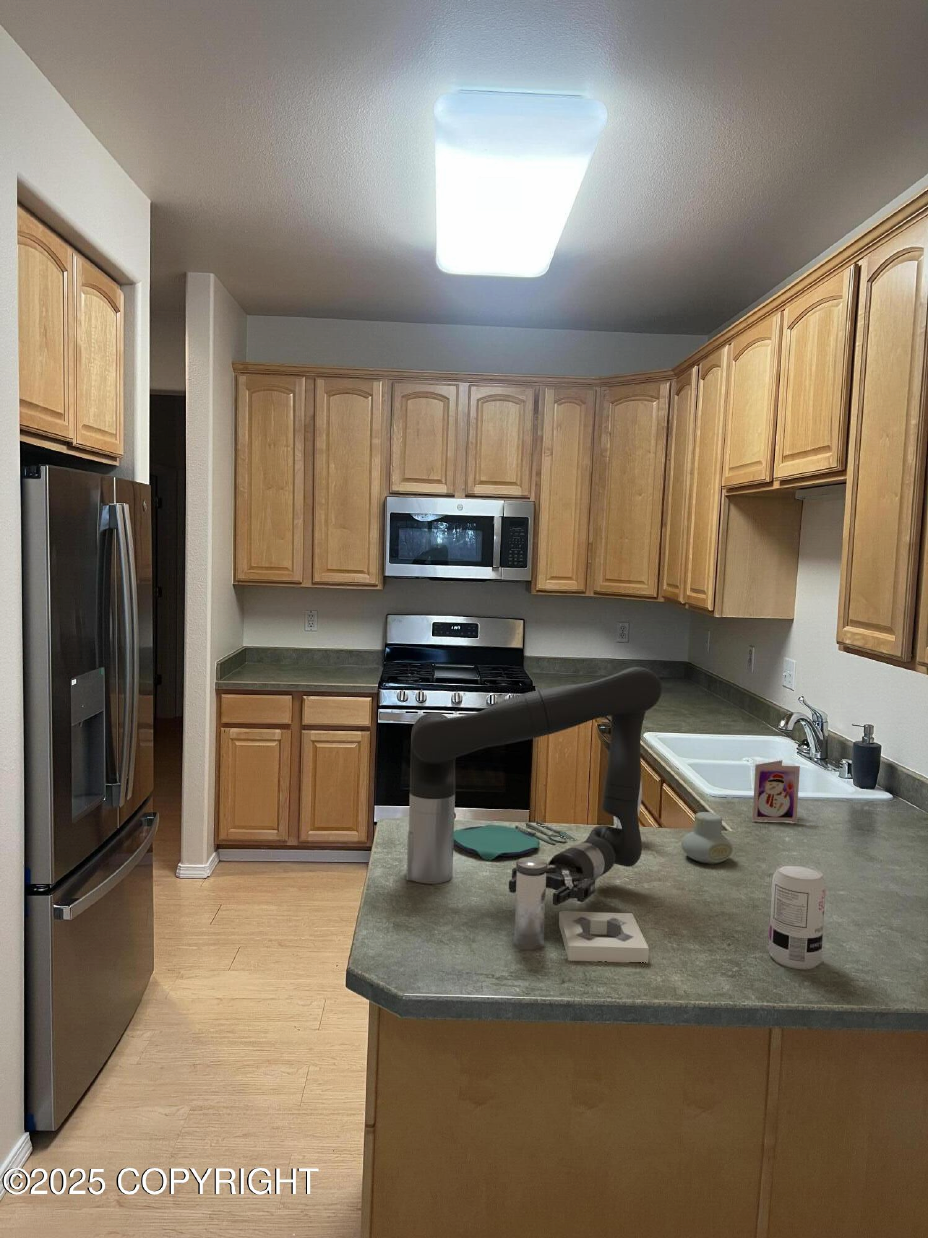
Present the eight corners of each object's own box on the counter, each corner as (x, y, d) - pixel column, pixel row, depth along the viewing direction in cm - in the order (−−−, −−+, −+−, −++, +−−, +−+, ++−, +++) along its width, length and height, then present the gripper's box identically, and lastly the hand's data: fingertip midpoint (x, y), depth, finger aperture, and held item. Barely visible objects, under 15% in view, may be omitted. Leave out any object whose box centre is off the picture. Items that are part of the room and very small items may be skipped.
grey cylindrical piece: (514, 949, 144) (517, 867, 143) (512, 936, 149) (515, 856, 148) (545, 950, 144) (548, 868, 143) (542, 937, 149) (545, 857, 148)
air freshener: (712, 851, 199) (714, 808, 198) (738, 862, 191) (740, 818, 191) (674, 856, 194) (676, 812, 193) (699, 868, 186) (701, 823, 186)
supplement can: (760, 949, 147) (764, 863, 146) (806, 949, 148) (811, 863, 147) (781, 971, 139) (786, 880, 138) (830, 971, 140) (836, 880, 139)
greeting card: (753, 823, 222) (756, 765, 221) (743, 815, 229) (746, 759, 228) (797, 824, 222) (801, 767, 221) (786, 816, 229) (790, 760, 228)
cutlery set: (434, 840, 200) (434, 830, 200) (535, 824, 217) (535, 815, 217) (484, 868, 183) (484, 857, 183) (589, 848, 200) (589, 838, 200)
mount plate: (568, 960, 141) (568, 945, 140) (558, 925, 155) (559, 911, 154) (648, 963, 141) (648, 948, 140) (631, 927, 155) (632, 913, 154)
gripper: (544, 839, 164) (497, 862, 150) (613, 856, 155) (570, 881, 142) (542, 878, 164) (496, 904, 151) (611, 897, 156) (569, 926, 143)
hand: (532, 893), depth 146 cm, fingers open, 8 cm apart
